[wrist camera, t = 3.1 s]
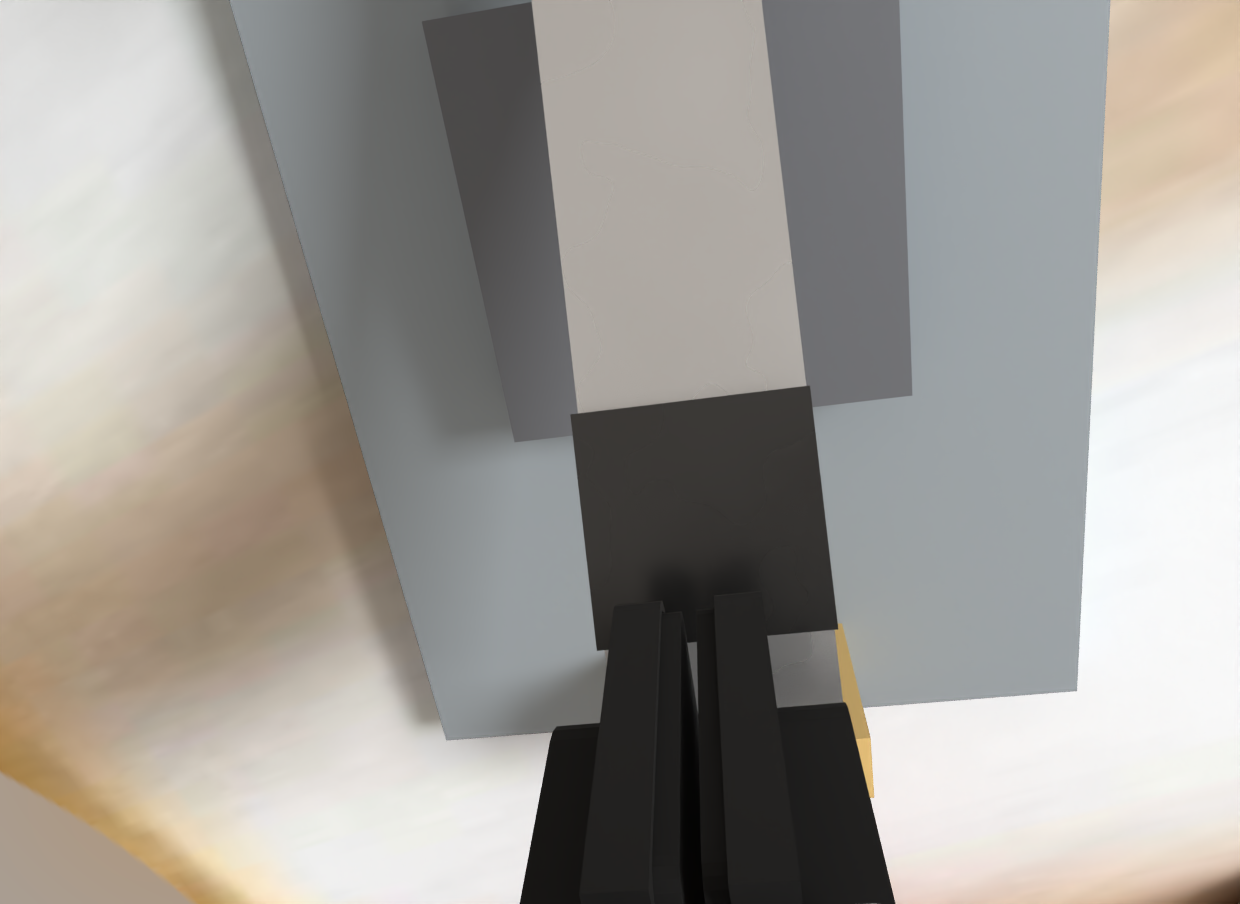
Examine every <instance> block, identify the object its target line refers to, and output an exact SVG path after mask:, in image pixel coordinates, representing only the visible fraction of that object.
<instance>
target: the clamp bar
mask: <svg viewBox="0 0 1240 904" xmlns="http://www.w3.org/2000/svg"><path fill="white" fill-rule="evenodd" d="M532 9H533V18H534V27H535V35H536V44H537V53H538V62H539V71H540V80H541V89H542V98H543V107H544V116H545V124H546V133H547V142H548V151H549V160H550V169H551V178H552V187H553V196H554V204H555V213H556V222H557V231H558V240H559V249H560V258H561V267H562V276H563V285H564V293H565V302H566V311H567V320H568V329H569V338H570V347H571V356H572V365H573V373H574V382H575V391H576V400H577V409H578V414H570V416H571V425H572V434H573V443H574V452H575V461H576V470H577V479H578V488H579V497H580V506H581V514H582V523H583V532H584V541H585V550H586V559H587V568H588V577H589V586H590V595H591V604H592V612H593V621H594V630H595V639H596V648H597V651H602V650H605V658H606V667H607V659H608V651H609V643H610V634H611V626H612V618H613V610H614V606H615V605H621V604H631V603H641V602H651V601H661V600H662V602H663V605H664V609H665V613H669V612H680V611H682V614H683V619H684V625H685V631H686V638H687V644H688V651H689V657H690V664H691V670H692V677H693V683H694V690H695V696H696V703H697V709H698V676H697V626H696V610H700V609H710V608H714V595H722V594H732V593H742V592H753V591H761V593H762V600H763V608H764V615H765V622H766V630H767V637H768V645H769V652H770V659H771V667H772V674H773V682H774V689H775V696H776V704H777V708H781V707H793V706H805V705H817V704H829V703H841V702H843V697H842V688H841V680H840V671H839V662H838V654H837V645H836V637H835V630H838V622H837V613H836V605H835V596H834V587H833V579H832V570H831V562H830V553H829V544H828V536H827V527H826V519H825V510H824V501H823V493H822V484H821V476H820V467H819V458H818V450H817V441H816V433H815V424H814V415H813V407H812V398H811V390H810V386H806V378H805V370H804V361H803V353H802V344H801V335H800V327H799V318H798V310H797V301H796V292H795V284H794V275H793V267H792V258H791V249H790V241H789V232H788V224H787V215H786V206H785V198H784V189H783V181H782V172H781V163H780V155H779V146H778V138H777V129H776V120H775V112H774V103H773V95H772V86H771V77H770V69H769V60H768V52H767V43H766V34H765V26H764V17H763V9H762V0H532Z"/></svg>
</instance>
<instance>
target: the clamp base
mask: <svg viewBox="0 0 1240 904" xmlns="http://www.w3.org/2000/svg"><path fill="white" fill-rule="evenodd" d="M229 1H230V5H231V8H232V12H233V15H234V18H235V22H236V25H237V29H238V32H239V35H240V39H241V42H242V46H243V49H244V52H245V56H246V59H247V63H248V66H249V69H250V73H251V76H252V80H253V83H254V86H255V90H256V93H257V97H258V100H259V103H260V107H261V110H262V114H263V117H264V120H265V124H266V127H267V131H268V134H269V137H270V141H271V144H272V148H273V151H274V155H275V158H276V161H277V165H278V168H279V172H280V175H281V178H282V182H283V185H284V189H285V192H286V195H287V199H288V202H289V206H290V209H291V212H292V216H293V219H294V223H295V226H296V229H297V233H298V236H299V240H300V243H301V246H302V250H303V253H304V257H305V260H306V263H307V267H308V270H309V274H310V277H311V280H312V284H313V287H314V291H315V294H316V298H317V301H318V304H319V308H320V311H321V315H322V318H323V321H324V325H325V328H326V332H327V335H328V338H329V342H330V345H331V349H332V352H333V355H334V359H335V362H336V366H337V369H338V372H339V376H340V379H341V383H342V386H343V389H344V393H345V396H346V400H347V403H348V406H349V410H350V413H351V417H352V420H353V424H354V427H355V430H356V434H357V437H358V441H359V444H360V447H361V451H362V454H363V458H364V461H365V464H366V468H367V471H368V475H369V478H370V481H371V485H372V488H373V492H374V495H375V498H376V502H377V505H378V509H379V512H380V515H381V519H382V522H383V526H384V529H385V532H386V536H387V539H388V543H389V546H390V549H391V553H392V556H393V560H394V563H395V567H396V570H397V573H398V577H399V580H400V584H401V587H402V590H403V594H404V597H405V601H406V604H407V607H408V611H409V614H410V618H411V621H412V624H413V628H414V631H415V635H416V638H417V641H418V645H419V648H420V652H421V655H422V658H423V662H424V665H425V669H426V672H427V675H428V679H429V682H430V686H431V689H432V693H433V696H434V699H435V703H436V706H437V710H438V713H439V716H440V720H441V723H442V727H443V730H444V733H445V737H446V740H458V739H471V738H484V737H496V736H509V735H522V734H535V733H547V732H553V730H554V729H555V728H556V727H557V726H567V725H579V724H591V723H600V717H601V709H602V700H603V692H604V684H605V676H606V658H605V650H602V651H597V648H596V639H595V630H594V621H593V612H592V604H591V595H590V586H589V577H588V568H587V559H586V550H585V541H584V532H583V523H582V514H581V506H580V497H579V488H578V479H577V470H576V461H575V452H574V443H573V434H572V425H571V416H570V414H578V409H577V400H576V391H575V382H574V373H573V365H572V356H571V347H570V338H569V329H568V320H567V311H566V302H565V293H564V285H563V276H562V267H561V258H560V249H559V240H558V231H557V222H556V213H555V204H554V196H553V187H552V178H551V169H550V160H549V151H548V142H547V133H546V124H545V116H544V107H543V98H542V89H541V80H540V71H539V62H538V53H537V44H536V35H535V27H534V18H533V9H532V0H229ZM762 9H763V17H764V26H765V34H766V43H767V52H768V60H769V69H770V77H771V86H772V95H773V103H774V112H775V120H776V129H777V138H778V146H779V155H780V163H781V172H782V181H783V189H784V198H785V206H786V215H787V224H788V232H789V241H790V249H791V258H792V267H793V275H794V284H795V292H796V301H797V310H798V318H799V327H800V335H801V344H802V353H803V361H804V370H805V378H806V386H810V390H811V398H812V407H813V415H814V424H815V433H816V441H817V450H818V458H819V467H820V476H821V484H822V493H823V501H824V510H825V519H826V527H827V536H828V544H829V553H830V562H831V570H832V579H833V587H834V596H835V605H836V613H837V622H838V630H835V637H836V645H837V654H838V662H839V671H840V680H841V688H842V697H843V702H846V704H847V706H848V709H849V713H850V717H851V721H852V725H853V729H854V733H855V738H856V742H857V746H858V750H859V754H860V758H861V763H862V767H863V771H864V775H865V779H866V783H867V788H868V792H869V796H870V798H874V787H873V771H872V755H871V739H870V734H869V730H868V726H867V722H866V718H865V714H864V710H863V708H866V707H879V706H891V705H904V704H917V703H930V702H942V701H955V700H968V699H981V698H993V697H1006V696H1019V695H1032V694H1044V693H1057V692H1070V691H1077V677H1078V657H1079V636H1080V615H1081V595H1082V574H1083V553H1084V533H1085V512H1086V492H1087V471H1088V450H1089V430H1090V409H1091V388H1092V368H1093V347H1094V326H1095V306H1096V285H1097V264H1098V244H1099V223H1100V202H1101V182H1102V161H1103V141H1104V120H1105V99H1106V79H1107V58H1108V37H1109V17H1110V0H762Z"/></svg>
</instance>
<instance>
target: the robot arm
mask: <svg viewBox="0 0 1240 904" xmlns="http://www.w3.org/2000/svg"><path fill="white" fill-rule="evenodd" d="M696 626H697V676H698V709H697V703H696V696H695V690H694V683H693V677H692V670H691V664H690V657H689V651H688V644H687V638H686V631H685V625H684V619H683V614H682V611H680V612H669V613H665V609H664V605H663V602H662V600H661V601H651V602H641V603H631V604H621V605H615V606H614V610H613V618H612V626H611V634H610V643H609V651H608V659H607V667H606V676H605V684H604V692H603V700H602V709H601V717H600V723H591V724H579V725H567V726H557V727H556V728H555V729H554V730H553V733H552V736H551V740H550V745H549V750H548V756H547V761H546V766H545V772H544V777H543V782H542V788H541V793H540V798H539V804H538V809H537V814H536V820H535V825H534V830H533V836H532V841H531V847H530V852H529V857H528V863H527V868H526V873H525V879H524V884H523V889H522V895H521V900H520V904H895V900H894V896H893V892H892V888H891V884H890V879H889V875H888V871H887V867H886V863H885V859H884V854H883V850H882V846H881V842H880V838H879V834H878V829H877V825H876V821H875V817H874V813H873V809H872V804H871V800H870V796H869V792H868V788H867V783H866V779H865V775H864V771H863V767H862V763H861V758H860V754H859V750H858V746H857V742H856V738H855V733H854V729H853V725H852V721H851V717H850V713H849V709H848V706H847V704H846V702H841V703H829V704H817V705H805V706H793V707H781V708H777V704H776V696H775V689H774V682H773V674H772V667H771V659H770V652H769V645H768V637H767V630H766V622H765V615H764V608H763V600H762V593H761V591H753V592H742V593H732V594H722V595H714V608H710V609H700V610H696Z"/></svg>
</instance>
